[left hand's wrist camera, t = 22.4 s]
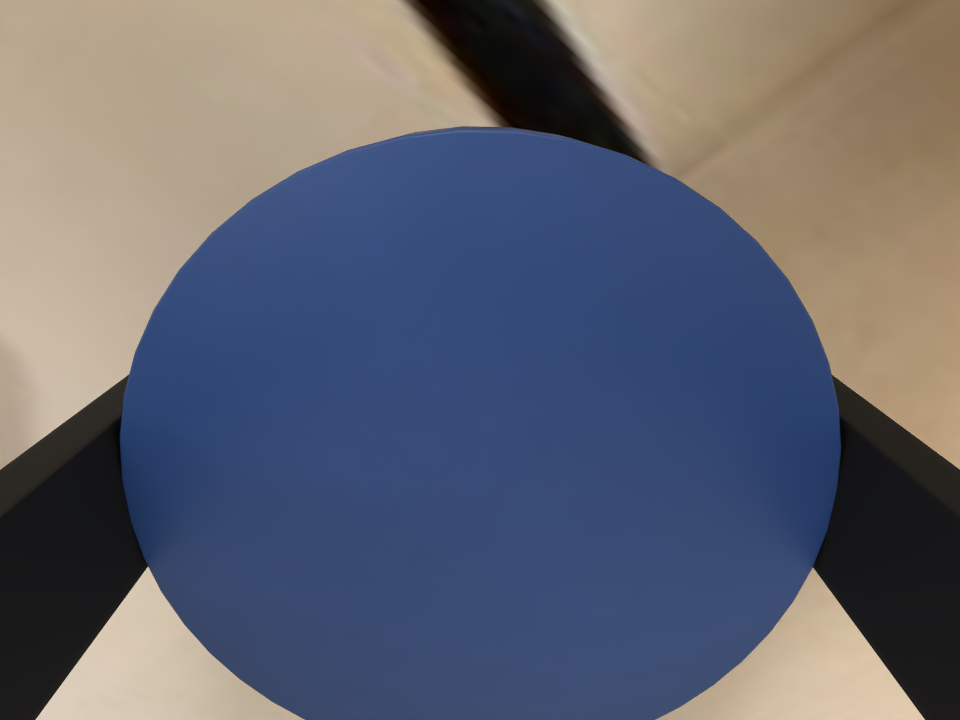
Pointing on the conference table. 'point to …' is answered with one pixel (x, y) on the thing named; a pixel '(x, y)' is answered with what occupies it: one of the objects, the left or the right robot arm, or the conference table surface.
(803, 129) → the conference table surface
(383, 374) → the lid
